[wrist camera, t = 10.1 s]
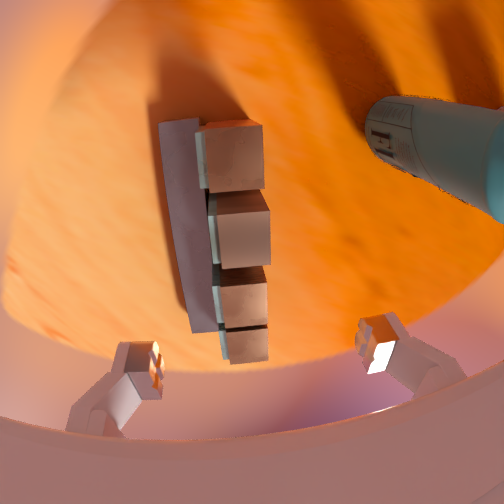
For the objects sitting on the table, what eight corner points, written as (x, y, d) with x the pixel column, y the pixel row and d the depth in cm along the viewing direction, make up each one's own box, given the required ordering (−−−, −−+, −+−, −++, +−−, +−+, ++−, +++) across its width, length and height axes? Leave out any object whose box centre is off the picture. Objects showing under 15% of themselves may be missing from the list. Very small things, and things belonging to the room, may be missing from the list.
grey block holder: (163, 121, 22) (143, 128, 16) (249, 113, 23) (261, 117, 17) (193, 318, 32) (190, 367, 26) (258, 312, 32) (268, 360, 26)
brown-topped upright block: (209, 186, 25) (207, 216, 19) (256, 182, 26) (269, 210, 20) (213, 229, 27) (213, 269, 21) (257, 225, 28) (270, 264, 21)
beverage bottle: (340, 121, 24) (545, 196, 6) (389, 79, 22) (593, 107, 5) (380, 174, 26) (549, 294, 9) (424, 133, 25) (600, 210, 7)
